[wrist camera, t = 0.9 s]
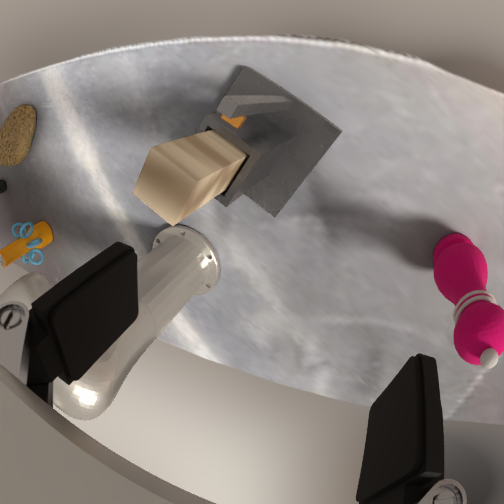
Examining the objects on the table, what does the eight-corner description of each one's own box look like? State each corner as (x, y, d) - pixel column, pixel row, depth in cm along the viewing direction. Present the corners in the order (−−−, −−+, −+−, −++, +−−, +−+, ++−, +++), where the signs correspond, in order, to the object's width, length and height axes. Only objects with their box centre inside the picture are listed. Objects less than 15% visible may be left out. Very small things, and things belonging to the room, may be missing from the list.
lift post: (264, 164, 38) (173, 227, 21) (238, 145, 38) (131, 193, 21) (282, 138, 35) (197, 181, 19) (255, 119, 35) (151, 146, 19)
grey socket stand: (278, 213, 42) (219, 286, 27) (197, 152, 42) (105, 191, 27) (342, 130, 34) (320, 156, 19) (248, 66, 34) (161, 52, 19)
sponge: (18, 164, 61) (40, 161, 51) (-8, 169, 55) (7, 166, 45) (19, 115, 57) (42, 100, 47) (-7, 117, 51) (9, 101, 41)
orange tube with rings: (42, 249, 69) (1, 277, 57) (30, 213, 65) (-15, 238, 53) (65, 251, 65) (19, 283, 52) (52, 210, 60) (1, 238, 48)
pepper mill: (437, 285, 38) (457, 401, 21) (422, 241, 36) (447, 351, 20) (481, 267, 34) (525, 376, 18) (470, 221, 32) (526, 320, 16)
